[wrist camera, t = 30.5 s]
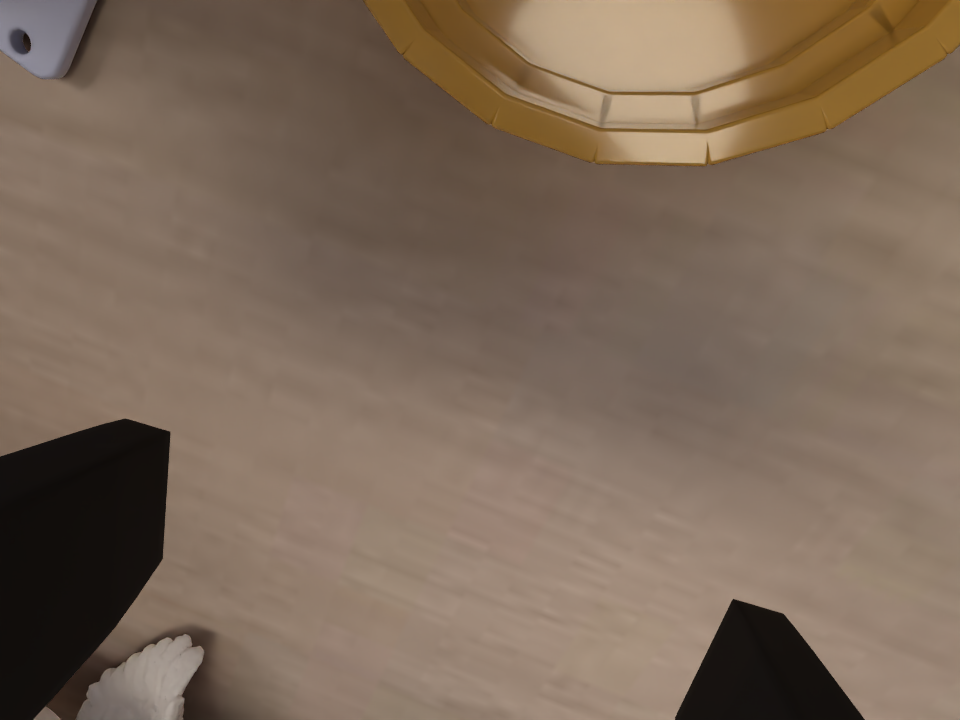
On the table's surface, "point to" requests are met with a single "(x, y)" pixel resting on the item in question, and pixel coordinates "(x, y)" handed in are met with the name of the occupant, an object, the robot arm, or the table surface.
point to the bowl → (668, 68)
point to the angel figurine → (142, 685)
